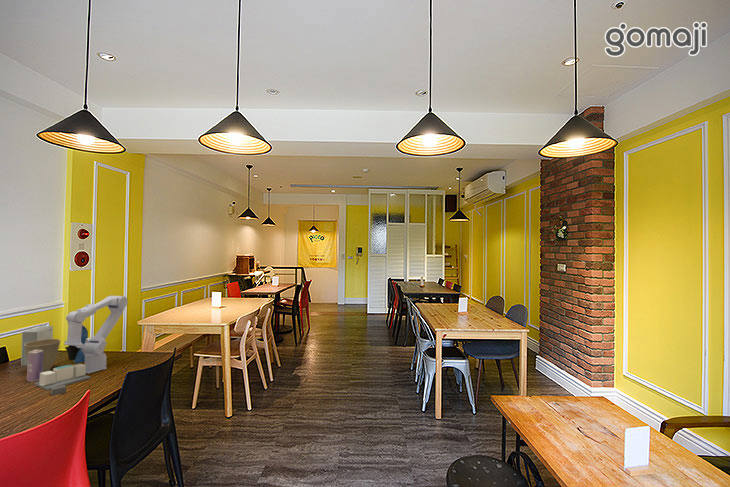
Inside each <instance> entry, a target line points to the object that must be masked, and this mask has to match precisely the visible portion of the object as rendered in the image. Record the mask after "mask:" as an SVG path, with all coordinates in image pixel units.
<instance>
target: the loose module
mask: <svg viewBox="0 0 730 487" xmlns="http://www.w3.org/2000/svg"><path fill="white" fill-rule="evenodd" d="M73 365H74V364H65V365H61V366H57V367H54V368H53V367H52V372H55V373H56V376H55V381H56V382H58V381H61V380H65V379H69V378H73V369H74V366H73Z"/></svg>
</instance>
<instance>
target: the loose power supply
mask: <svg viewBox="0 0 730 487" xmlns="http://www.w3.org/2000/svg"><path fill="white" fill-rule="evenodd" d="M66 393H67V385H66V386H65V385H61V386H56V387H51V390H50V395H51V396H52V397H53V396H57V395H63V394H66Z"/></svg>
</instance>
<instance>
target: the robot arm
mask: <svg viewBox="0 0 730 487" xmlns="http://www.w3.org/2000/svg"><path fill="white" fill-rule="evenodd" d="M128 303H129V302H128V298H127V296H125V295H109V296H106V297H105V298H104V299H102V300H100V301H98V302H97V303H95V304H85V306H83V307H82V308H78V309H76V310H73V311H70V312H69V313H68V314H67V315H66V317H65V320H66V322H67V325H68V327H67V339H66V340H65V341H64V343H63V345H64V346H65V350H66V353H67V356H68V360H69V361H73V360H75V359H76V356H77V354H78V352H79V350H80V349H81V350H82V352H83V353H84V355H85V361H84V365H86V374H92V373H96V372H99V371H102V370H103V371H104V370H107V368H108V367H107V355H106V353H105V352H104V351H105V349H106V346H107V344H108V343H107V341H106V339H107V337H108V336H109V334H110V333H111V332H112V330H113V328H114V327H115V326H116V324H117V322H118V321H119V319H120V318H121V316H122V315H123V314H124V310H125V308H126V307H127V305H128ZM106 307H107V308H108V310H109V311H110V313H109V315H108V316H107V318H106V319H105V321H104V322H103V323H102V325H101V327H100V328H99V329H98V331H97V332H96V333H95V335H94V336H92V338H91V337H89V338H90V339H89V340H88V341H87V342H86V343H84V344H82V343H81V332H82V325H83V322H84V321H86V319H87V318H88V317H91V316H93V315H94V314H96V313H97V311H98V310H100V309H103V308H106Z"/></svg>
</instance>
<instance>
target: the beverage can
mask: <svg viewBox="0 0 730 487" xmlns="http://www.w3.org/2000/svg"><path fill="white" fill-rule="evenodd" d="M42 372H43V350H33V351H29V352H28V361H27V366H26V381H27V383H36V382H39V380H40V373H42Z"/></svg>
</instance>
